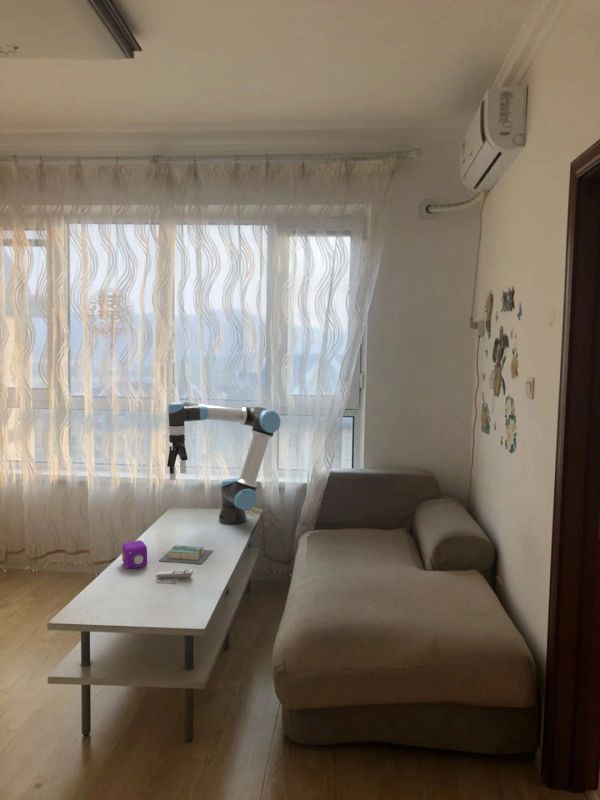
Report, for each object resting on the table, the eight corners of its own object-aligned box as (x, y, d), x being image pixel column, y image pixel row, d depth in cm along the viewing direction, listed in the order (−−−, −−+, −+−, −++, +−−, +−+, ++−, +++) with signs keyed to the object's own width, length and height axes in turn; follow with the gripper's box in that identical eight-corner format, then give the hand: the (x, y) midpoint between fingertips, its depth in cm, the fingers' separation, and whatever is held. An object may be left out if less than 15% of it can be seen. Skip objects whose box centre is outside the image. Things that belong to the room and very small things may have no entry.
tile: (174, 545, 272) (203, 546, 270) (175, 551, 272) (203, 553, 270) (168, 551, 264) (197, 553, 262) (168, 557, 265) (197, 559, 262)
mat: (172, 548, 277) (172, 547, 277) (212, 551, 274) (212, 550, 274) (158, 561, 261) (158, 560, 261) (201, 564, 258) (201, 563, 258)
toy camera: (131, 573, 248) (130, 551, 247) (118, 564, 259) (117, 542, 258) (154, 567, 255) (153, 545, 254) (141, 558, 266) (140, 537, 264)
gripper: (179, 429, 298) (180, 470, 300) (159, 438, 274) (160, 482, 276) (193, 430, 297) (194, 470, 299) (174, 438, 272) (175, 483, 275)
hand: (178, 476), depth 288 cm, fingers open, 13 cm apart
